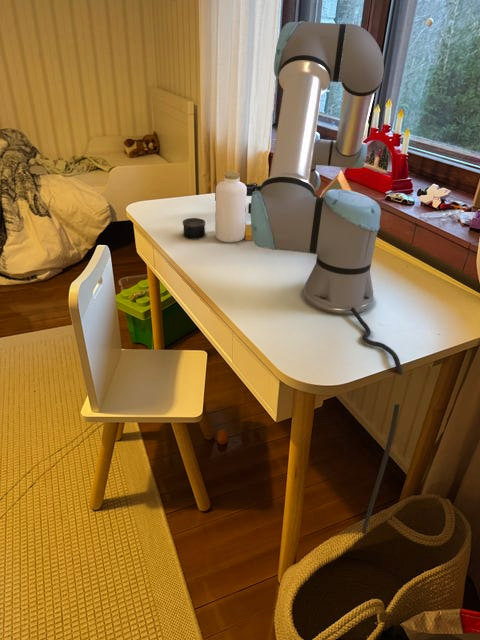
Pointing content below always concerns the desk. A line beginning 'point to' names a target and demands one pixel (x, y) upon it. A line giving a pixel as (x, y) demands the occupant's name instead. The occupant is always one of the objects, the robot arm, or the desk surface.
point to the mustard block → (248, 232)
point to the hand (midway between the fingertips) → (232, 202)
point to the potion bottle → (230, 208)
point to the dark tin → (194, 228)
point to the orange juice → (337, 184)
